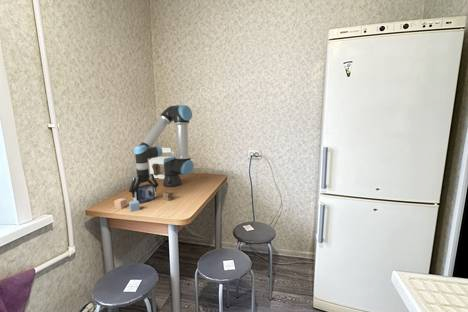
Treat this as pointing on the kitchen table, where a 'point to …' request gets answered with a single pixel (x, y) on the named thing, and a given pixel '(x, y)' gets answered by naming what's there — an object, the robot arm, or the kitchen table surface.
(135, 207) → the slate block
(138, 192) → the small box
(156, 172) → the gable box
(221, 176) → the kitchen table surface
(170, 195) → the walnut block
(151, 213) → the kitchen table surface
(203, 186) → the kitchen table surface
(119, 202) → the terracotta block
